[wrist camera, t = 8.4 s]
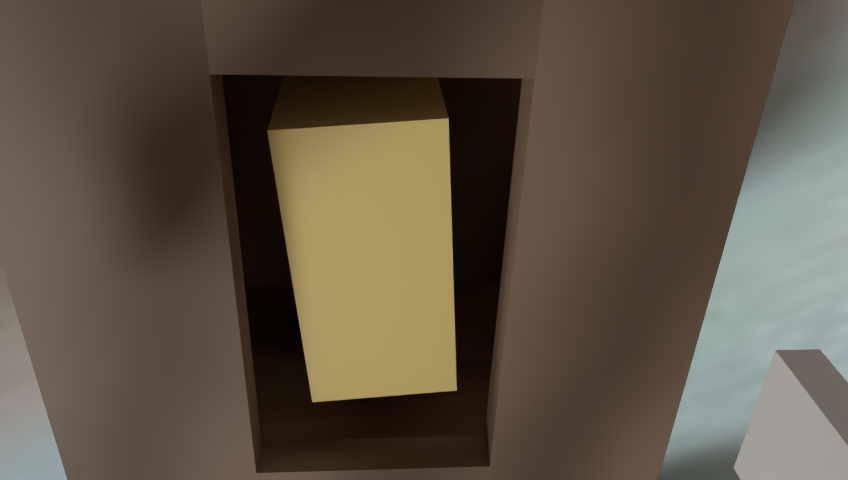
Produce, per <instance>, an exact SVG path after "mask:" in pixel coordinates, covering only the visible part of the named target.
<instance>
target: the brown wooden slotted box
mask: <svg viewBox="0 0 848 480" xmlns="http://www.w3.org/2000/svg"><path fill="white" fill-rule="evenodd" d="M793 3H794V0H0V260H1V264H2V267H3V270H4V273H5V277H6V280H7V283H8V286H9V290H10V293H11V296H12V300H13V303H14V306H15V309H16V313H17V316H18V319H19V322H20V326H21V329H22V332H23V335H24V339H25V342H26V345H27V349H28V352H29V355H30V358H31V362H32V365H33V368H34V371H35V375H36V378H37V381H38V385H39V388H40V391H41V394H42V398H43V401H44V404H45V407H46V411H47V414H48V417H49V420H50V424H51V427H52V430H53V434H54V437H55V440H56V443H57V447H58V450H59V453H60V456H61V460H62V463H63V466H64V470H65V473H66V476H67V479H68V480H658V478H659V474H660V471H661V467H662V464H663V460H664V457H665V453H666V450H667V446H668V443H669V439H670V436H671V432H672V429H673V425H674V422H675V418H676V415H677V411H678V408H679V404H680V401H681V397H682V394H683V390H684V386H685V383H686V379H687V376H688V372H689V369H690V365H691V362H692V358H693V355H694V351H695V348H696V344H697V341H698V337H699V334H700V330H701V327H702V323H703V320H704V316H705V313H706V309H707V306H708V302H709V299H710V295H711V292H712V288H713V284H714V281H715V277H716V274H717V270H718V267H719V263H720V260H721V256H722V253H723V249H724V246H725V242H726V239H727V235H728V232H729V228H730V225H731V221H732V218H733V214H734V211H735V207H736V204H737V200H738V197H739V193H740V190H741V186H742V183H743V179H744V175H745V172H746V168H747V165H748V161H749V158H750V154H751V151H752V147H753V144H754V140H755V137H756V133H757V130H758V126H759V123H760V119H761V116H762V112H763V109H764V105H765V102H766V98H767V95H768V91H769V88H770V84H771V81H772V77H773V73H774V70H775V66H776V63H777V59H778V56H779V52H780V49H781V45H782V42H783V38H784V35H785V31H786V28H787V24H788V21H789V17H790V14H791V10H792V7H793ZM284 75H290V76H368V77H438V80H439V84H440V88H441V92H442V95H443V99H444V103H445V107H446V110H447V114H448V118H449V147H450V180H451V214H452V247H453V281H454V314H455V348H456V381H457V391H445V392H433V393H420V394H408V395H396V396H384V397H371V398H359V399H347V400H335V401H323V402H312V398H311V392H310V386H309V379H308V373H307V367H306V361H305V355H304V349H303V343H302V337H301V331H300V325H299V319H298V313H297V307H296V301H295V295H294V289H293V283H292V277H291V271H290V265H289V259H288V253H287V247H286V241H285V235H284V229H283V223H282V217H281V211H280V205H279V199H278V193H277V187H276V181H275V175H274V169H273V163H272V157H271V151H270V145H269V139H268V133H267V130H268V126H269V123H270V120H271V117H272V113H273V110H274V107H275V104H276V100H277V97H278V94H279V91H280V87H281V84H282V81H283V78H284Z"/></svg>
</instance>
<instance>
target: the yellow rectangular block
mask: <svg viewBox="0 0 848 480" xmlns="http://www.w3.org/2000/svg"><path fill="white" fill-rule="evenodd" d="M267 133H268V139H269V145H270V151H271V157H272V163H273V169H274V175H275V181H276V187H277V193H278V199H279V205H280V211H281V217H282V223H283V229H284V235H285V241H286V247H287V253H288V259H289V265H290V271H291V277H292V283H293V289H294V295H295V301H296V307H297V313H298V319H299V325H300V331H301V337H302V343H303V349H304V355H305V361H306V367H307V373H308V379H309V386H310V392H311V398H312V402H323V401H335V400H347V399H359V398H371V397H384V396H396V395H408V394H420V393H433V392H445V391H457V381H456V348H455V314H454V281H453V247H452V214H451V180H450V147H449V118H448V114H447V110H446V107H445V103H444V99H443V95H442V92H441V88H440V84H439V80H438V77H368V76H290V75H284V78H283V81H282V84H281V87H280V91H279V94H278V97H277V100H276V104H275V107H274V110H273V113H272V117H271V120H270V123H269V126H268V130H267Z"/></svg>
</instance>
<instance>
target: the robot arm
mask: <svg viewBox="0 0 848 480" xmlns="http://www.w3.org/2000/svg"><path fill="white" fill-rule="evenodd" d="M734 469H735V471H736V473H737V475H738V477H739V478H740V480H848V383H847V381H846V380H845V379H844V378H843V377H842V375H841V374H840V373H839V372H838V371H837V369H836V368H835V367H834V366H833V365H832V364H831V362H830V361H829V360H828V359H827V358H826V356H825V355H824V354H823V353H822V352H821V350H775V353H774V356H773V358H772V361H771V364H770V367H769V370H768V372H767V375H766V378H765V381H764V384H763V387H762V389H761V392H760V395H759V398H758V401H757V403H756V406H755V409H754V412H753V415H752V417H751V420H750V423H749V426H748V429H747V432H746V434H745V437H744V440H743V443H742V446H741V448H740V451H739V454H738V457H737V460H736V462H735V465H734Z"/></svg>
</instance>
